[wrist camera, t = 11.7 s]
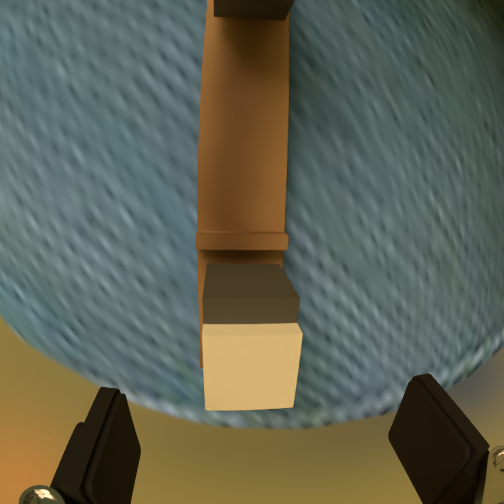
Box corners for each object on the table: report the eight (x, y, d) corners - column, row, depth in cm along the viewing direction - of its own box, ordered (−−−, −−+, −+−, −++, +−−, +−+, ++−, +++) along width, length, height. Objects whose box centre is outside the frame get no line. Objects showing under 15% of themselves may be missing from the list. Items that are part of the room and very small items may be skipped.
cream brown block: (275, 259, 19) (305, 306, 12) (270, 336, 20) (292, 407, 14) (207, 258, 19) (201, 307, 12) (208, 337, 20) (205, 410, 13)
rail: (282, -40, 16) (312, -115, 7) (271, 345, 23) (298, 432, 14) (214, -44, 15) (216, -124, 6) (202, 346, 22) (196, 436, 13)
